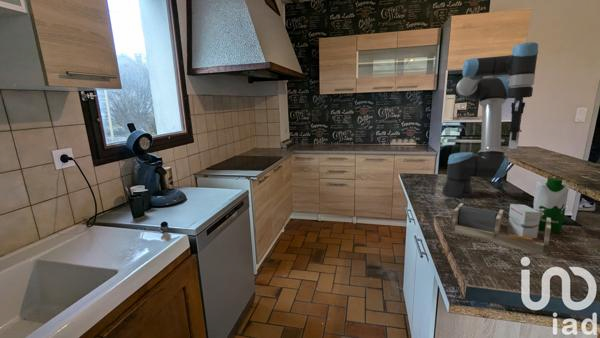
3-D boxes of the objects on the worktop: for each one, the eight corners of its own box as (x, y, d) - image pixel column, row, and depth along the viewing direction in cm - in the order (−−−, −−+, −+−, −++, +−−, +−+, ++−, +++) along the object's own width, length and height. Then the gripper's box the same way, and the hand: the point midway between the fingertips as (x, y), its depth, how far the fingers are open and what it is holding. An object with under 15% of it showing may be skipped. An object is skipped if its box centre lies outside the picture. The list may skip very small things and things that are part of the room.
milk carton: (533, 230, 104) (540, 179, 100) (528, 222, 112) (535, 174, 108) (564, 234, 100) (573, 181, 96) (557, 226, 107) (565, 176, 103)
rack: (459, 223, 112) (460, 202, 110) (546, 242, 94) (550, 217, 93) (451, 233, 103) (453, 210, 102) (546, 256, 86) (550, 229, 84)
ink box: (537, 246, 90) (542, 212, 88) (520, 245, 91) (525, 211, 88) (520, 234, 98) (525, 203, 96) (505, 234, 99) (509, 203, 97)
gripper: (509, 88, 111) (503, 146, 116) (506, 86, 102) (499, 149, 106) (533, 87, 106) (526, 147, 111) (532, 85, 97) (523, 150, 101)
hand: (512, 148), depth 108 cm, fingers closed
